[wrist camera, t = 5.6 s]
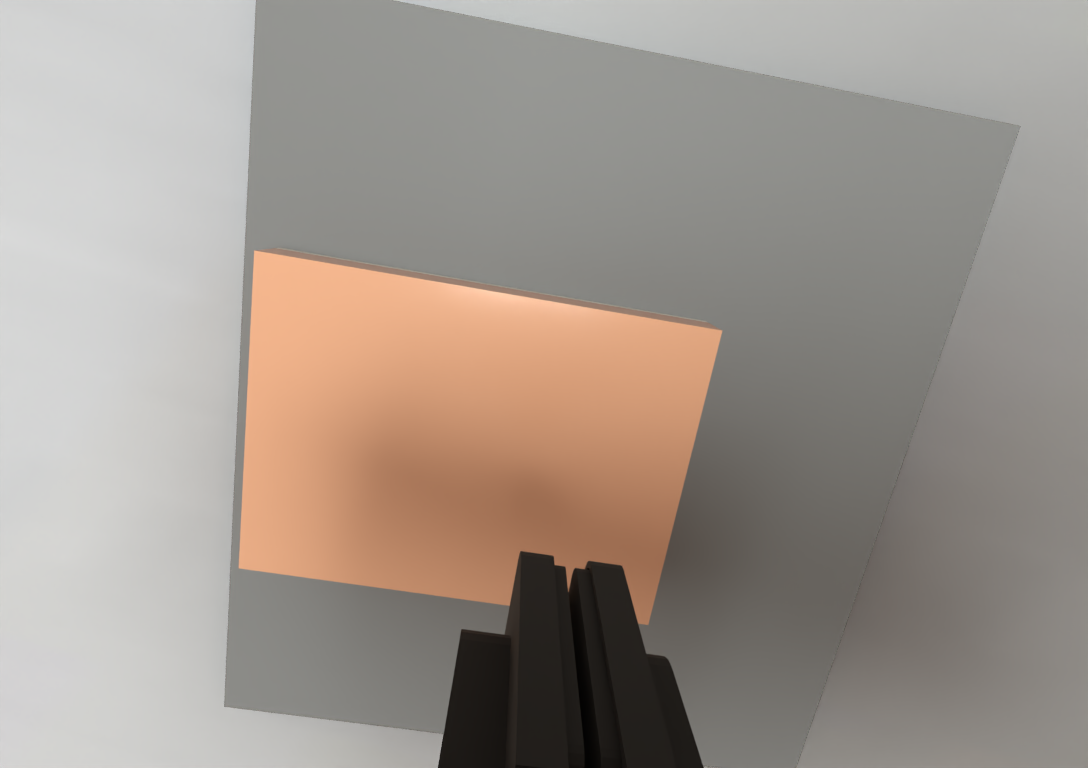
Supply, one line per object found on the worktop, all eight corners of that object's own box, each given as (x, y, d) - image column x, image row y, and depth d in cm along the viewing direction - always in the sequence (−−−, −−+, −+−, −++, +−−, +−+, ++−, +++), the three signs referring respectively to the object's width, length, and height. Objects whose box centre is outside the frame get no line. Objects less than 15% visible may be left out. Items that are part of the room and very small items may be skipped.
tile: (722, 331, 16) (254, 250, 15) (648, 624, 18) (238, 568, 17) (705, 320, 17) (280, 247, 17) (638, 592, 20) (262, 539, 19)
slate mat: (1003, 129, 17) (1020, 125, 16) (786, 762, 22) (792, 776, 22) (267, -18, 15) (257, -27, 15) (232, 693, 21) (224, 706, 20)
